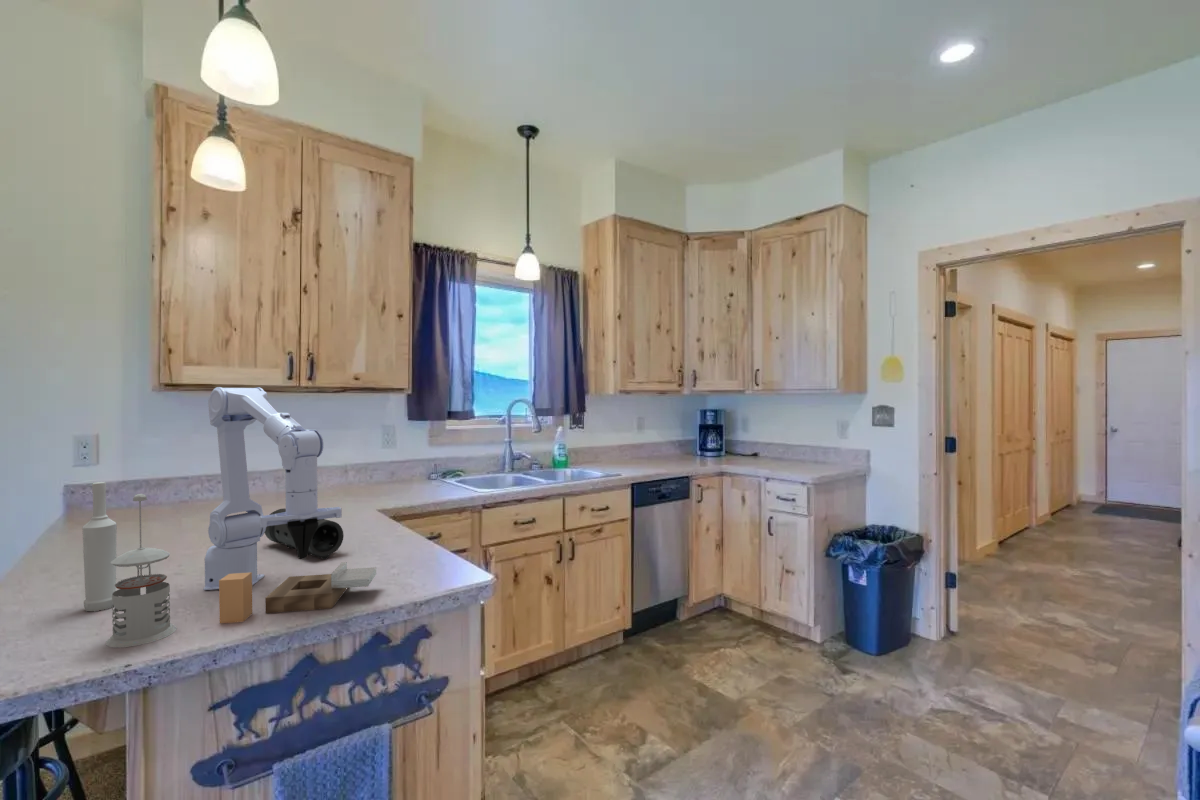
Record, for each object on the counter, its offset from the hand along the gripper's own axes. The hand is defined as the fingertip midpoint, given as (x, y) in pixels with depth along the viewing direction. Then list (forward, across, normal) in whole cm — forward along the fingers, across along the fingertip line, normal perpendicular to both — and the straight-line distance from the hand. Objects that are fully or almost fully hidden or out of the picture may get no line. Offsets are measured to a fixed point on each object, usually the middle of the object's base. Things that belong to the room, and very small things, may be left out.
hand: (302, 557), depth 114 cm
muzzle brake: (+10, +7, +44) cm, 46 cm away
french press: (+10, -25, +2) cm, 27 cm away
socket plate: (+9, +2, +2) cm, 10 cm away
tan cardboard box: (+9, -11, 0) cm, 15 cm away
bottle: (+10, -32, +24) cm, 41 cm away
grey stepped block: (+6, +9, -2) cm, 11 cm away
